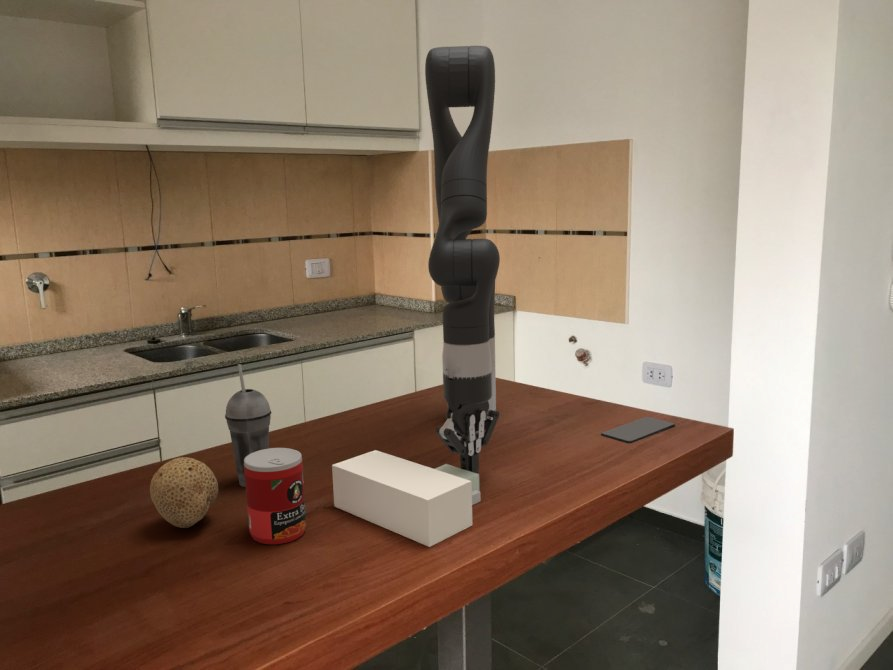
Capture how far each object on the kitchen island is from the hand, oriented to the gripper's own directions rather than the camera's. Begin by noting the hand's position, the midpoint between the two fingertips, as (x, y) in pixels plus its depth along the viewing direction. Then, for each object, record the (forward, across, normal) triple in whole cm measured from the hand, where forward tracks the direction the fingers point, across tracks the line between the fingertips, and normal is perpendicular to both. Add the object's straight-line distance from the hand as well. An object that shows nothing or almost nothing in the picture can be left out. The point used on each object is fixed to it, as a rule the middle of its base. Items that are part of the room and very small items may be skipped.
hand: (469, 475), depth 116 cm
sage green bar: (+1, +10, 0) cm, 10 cm away
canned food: (+1, +30, -9) cm, 31 cm away
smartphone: (+3, -41, +7) cm, 42 cm away
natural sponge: (+1, +37, -21) cm, 42 cm away
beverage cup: (+2, +22, -28) cm, 36 cm away
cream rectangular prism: (+1, +11, 0) cm, 11 cm away
